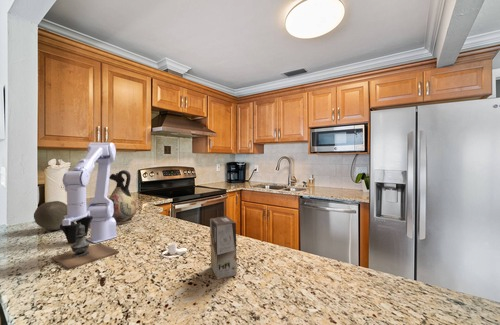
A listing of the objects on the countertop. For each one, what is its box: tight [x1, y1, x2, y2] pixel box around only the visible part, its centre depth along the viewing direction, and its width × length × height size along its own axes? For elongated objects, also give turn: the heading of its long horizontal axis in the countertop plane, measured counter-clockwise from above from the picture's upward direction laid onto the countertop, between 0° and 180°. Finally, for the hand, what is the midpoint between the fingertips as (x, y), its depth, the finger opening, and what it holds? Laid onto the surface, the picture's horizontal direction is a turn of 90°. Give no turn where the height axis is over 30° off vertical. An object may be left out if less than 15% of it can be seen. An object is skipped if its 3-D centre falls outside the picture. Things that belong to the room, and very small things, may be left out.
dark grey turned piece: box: [70, 223, 91, 257], centre depth 85 cm, size 6×6×12 cm
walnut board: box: [51, 242, 120, 271], centre depth 86 cm, size 16×16×1 cm
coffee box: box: [209, 216, 238, 280], centre depth 73 cm, size 9×6×16 cm
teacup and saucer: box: [161, 241, 188, 259], centre depth 87 cm, size 9×8×4 cm
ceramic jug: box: [108, 169, 137, 225], centre depth 131 cm, size 17×15×30 cm
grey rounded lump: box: [33, 200, 67, 231], centre depth 118 cm, size 14×14×15 cm
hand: (77, 239), depth 85 cm, fingers open, 7 cm apart
